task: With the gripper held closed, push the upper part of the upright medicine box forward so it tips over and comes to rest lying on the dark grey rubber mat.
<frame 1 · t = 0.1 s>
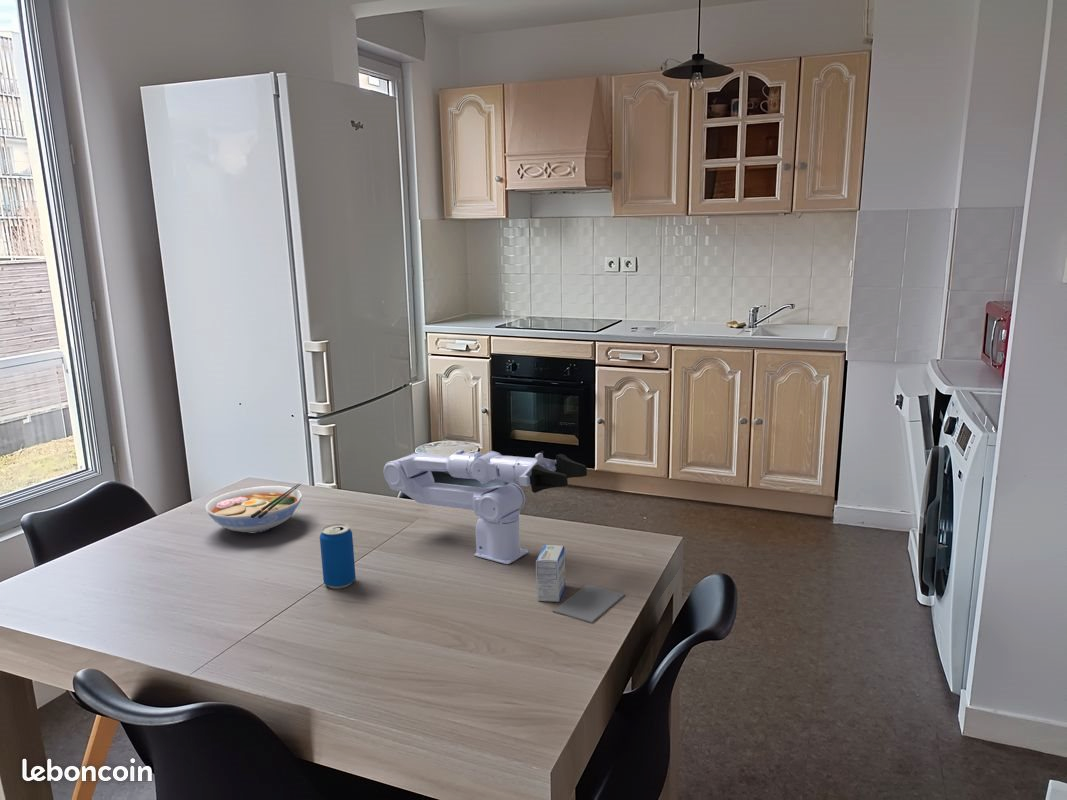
hand: (576, 475, 156), 22 cm above the table, tool horizontal, fingers open, 7 cm apart
ramen bowl: (257, 528, 191), on the table
medicine box: (551, 594, 152), on the table
beverage can: (340, 584, 159), on the table
mat: (589, 603, 148), on the table
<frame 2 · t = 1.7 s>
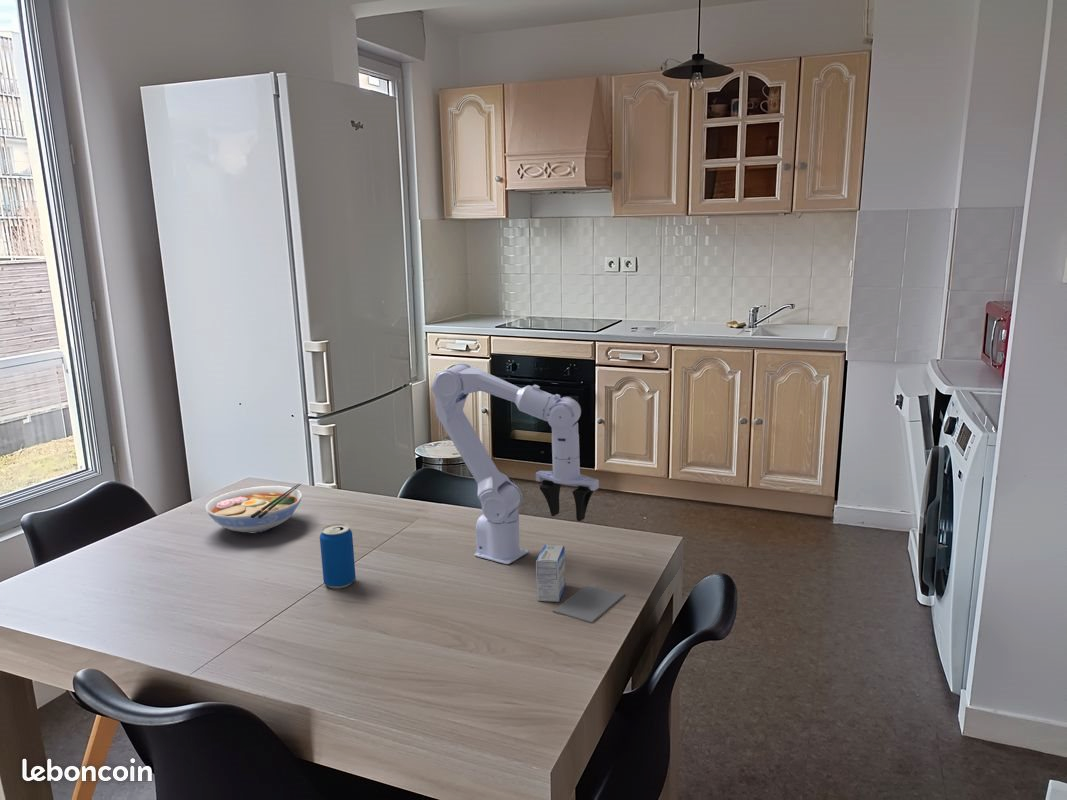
hand: (567, 517, 164), 10 cm above the table, tool pointing down, fingers open, 6 cm apart
nothing on the table moved.
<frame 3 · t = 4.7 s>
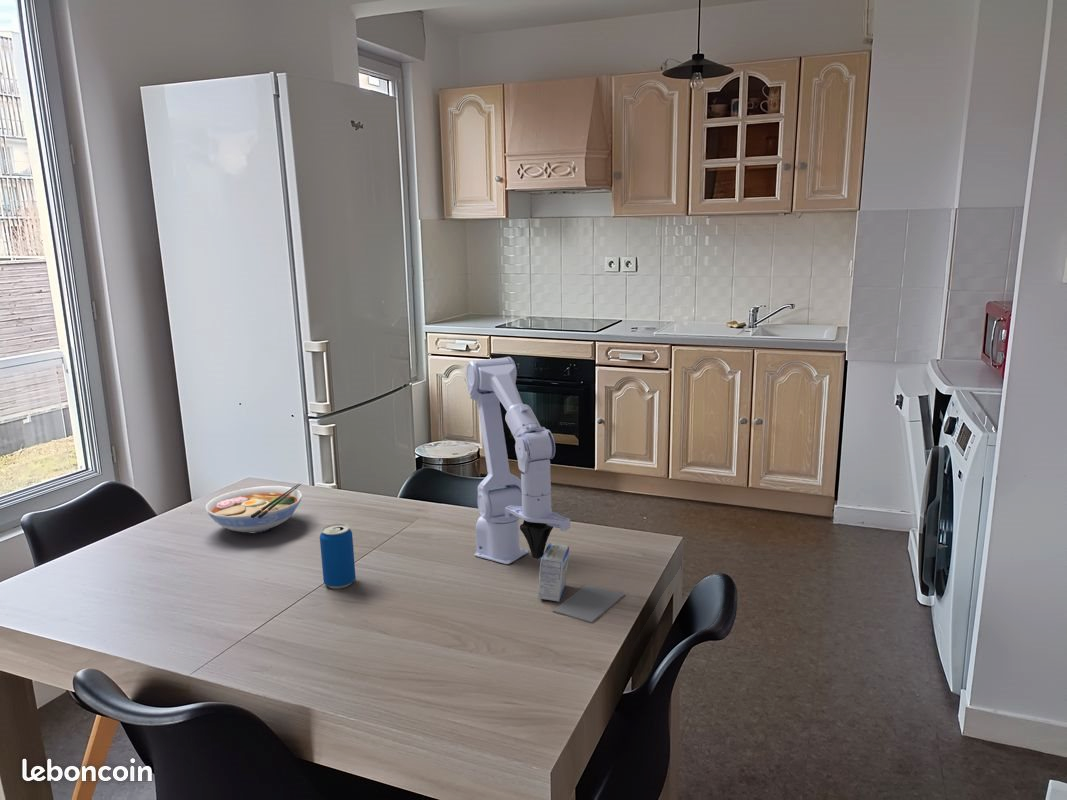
hand: (537, 557, 153), 7 cm above the table, tool pointing down, fingers closed
medicine box: (551, 592, 152), on the table, touching gripper
everything else where it was.
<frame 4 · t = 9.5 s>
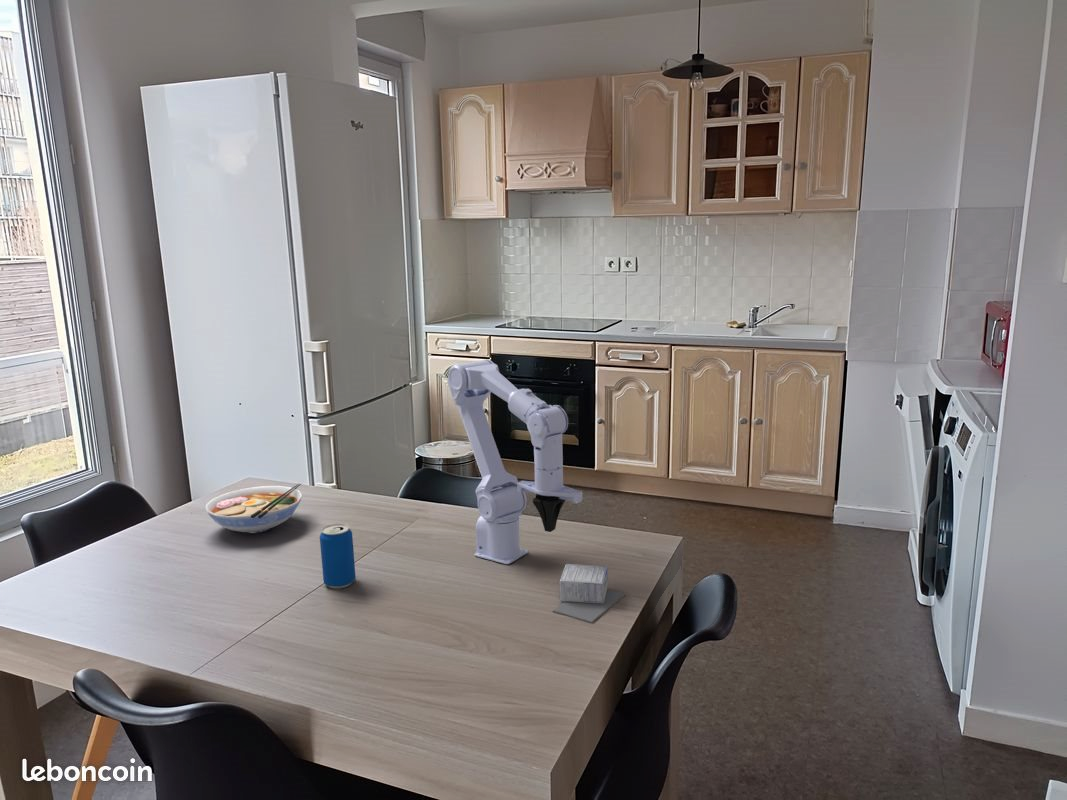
hand: (550, 530, 157), 10 cm above the table, tool pointing down, fingers closed
medicine box: (561, 581, 151), point 3 cm above the table, touching mat
everything else where it was.
at the end: medicine box tilted 90°; medicine box inside the target area on the mat (6.3 cm from its centre), point 2.5 cm above the mat's base; medicine box moved 3.3 cm from its start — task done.
